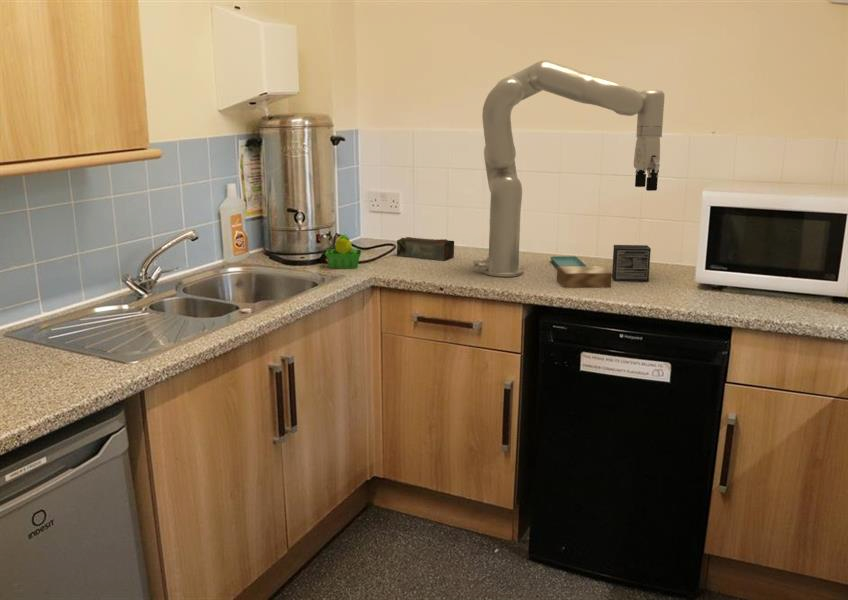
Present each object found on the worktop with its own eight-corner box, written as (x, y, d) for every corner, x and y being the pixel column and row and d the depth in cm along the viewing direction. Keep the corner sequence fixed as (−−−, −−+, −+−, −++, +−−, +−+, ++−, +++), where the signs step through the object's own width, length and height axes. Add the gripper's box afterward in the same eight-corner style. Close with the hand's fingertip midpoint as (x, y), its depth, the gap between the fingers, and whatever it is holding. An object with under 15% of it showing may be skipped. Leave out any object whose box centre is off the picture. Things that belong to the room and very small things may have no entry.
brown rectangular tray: (564, 287, 234) (565, 273, 233) (556, 279, 244) (557, 266, 243) (610, 287, 235) (611, 272, 234) (601, 279, 245) (602, 265, 244)
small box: (645, 277, 248) (648, 244, 246) (649, 282, 242) (651, 248, 239) (611, 276, 249) (613, 243, 247) (613, 281, 243) (616, 247, 240)
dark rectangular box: (406, 252, 285) (406, 234, 283) (455, 258, 277) (455, 239, 275) (396, 256, 278) (396, 238, 276) (445, 262, 270) (446, 243, 268)
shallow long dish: (549, 262, 272) (549, 255, 271) (576, 262, 272) (576, 255, 271) (564, 279, 246) (564, 271, 246) (593, 279, 247) (593, 271, 246)
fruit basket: (361, 264, 264) (361, 230, 262) (360, 270, 256) (360, 235, 253) (327, 264, 264) (326, 230, 261) (325, 270, 256) (324, 235, 253)
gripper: (627, 131, 249) (624, 185, 253) (647, 133, 232) (643, 192, 237) (650, 130, 250) (647, 185, 254) (672, 133, 233) (668, 191, 237)
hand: (645, 188), depth 245 cm, fingers open, 9 cm apart
